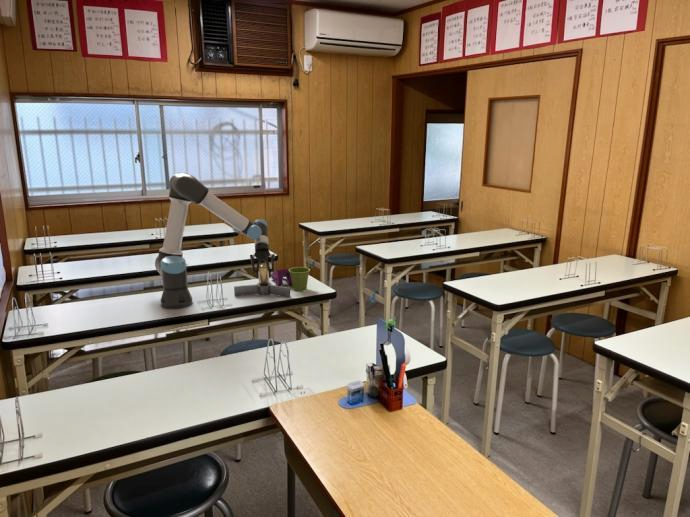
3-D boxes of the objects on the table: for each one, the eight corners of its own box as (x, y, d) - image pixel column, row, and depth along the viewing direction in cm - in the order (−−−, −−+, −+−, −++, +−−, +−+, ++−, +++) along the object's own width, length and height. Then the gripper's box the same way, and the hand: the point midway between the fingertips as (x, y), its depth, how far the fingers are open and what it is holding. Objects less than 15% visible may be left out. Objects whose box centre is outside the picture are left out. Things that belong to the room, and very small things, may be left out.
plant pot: (314, 287, 277) (314, 268, 274) (303, 294, 267) (303, 273, 264) (296, 284, 282) (295, 265, 279) (284, 290, 272) (284, 271, 269)
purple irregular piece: (271, 290, 292) (279, 285, 275) (269, 275, 293) (276, 270, 277) (286, 288, 295) (295, 283, 279) (284, 274, 297) (293, 268, 280)
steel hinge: (233, 295, 263) (233, 286, 262) (238, 290, 272) (238, 281, 271) (289, 297, 261) (289, 288, 260) (292, 291, 271) (292, 282, 269)
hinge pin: (259, 288, 265) (258, 266, 262) (261, 285, 269) (260, 264, 266) (266, 288, 265) (266, 266, 262) (268, 286, 269) (267, 264, 266)
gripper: (277, 248, 279) (280, 285, 267) (246, 249, 275) (247, 287, 264) (277, 241, 272) (280, 279, 261) (245, 242, 269) (247, 280, 257)
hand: (264, 283), depth 262 cm, fingers closed on hinge pin, 4 cm apart
